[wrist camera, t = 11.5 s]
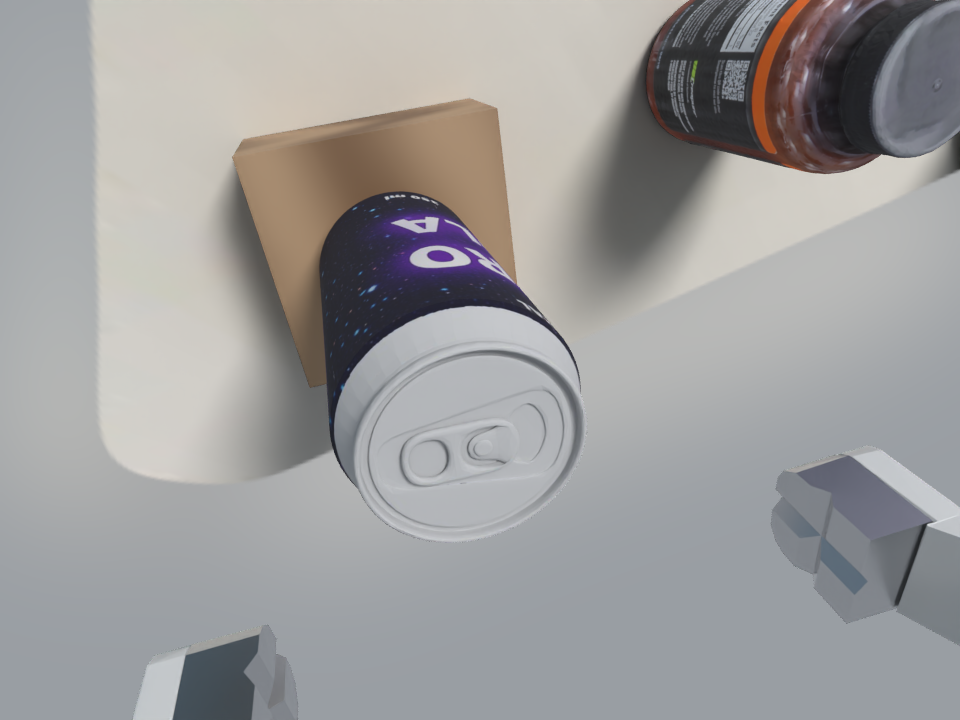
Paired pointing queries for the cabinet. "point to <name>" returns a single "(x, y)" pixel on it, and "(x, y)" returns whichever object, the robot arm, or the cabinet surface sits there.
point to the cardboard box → (368, 193)
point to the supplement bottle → (809, 79)
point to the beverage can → (441, 375)
